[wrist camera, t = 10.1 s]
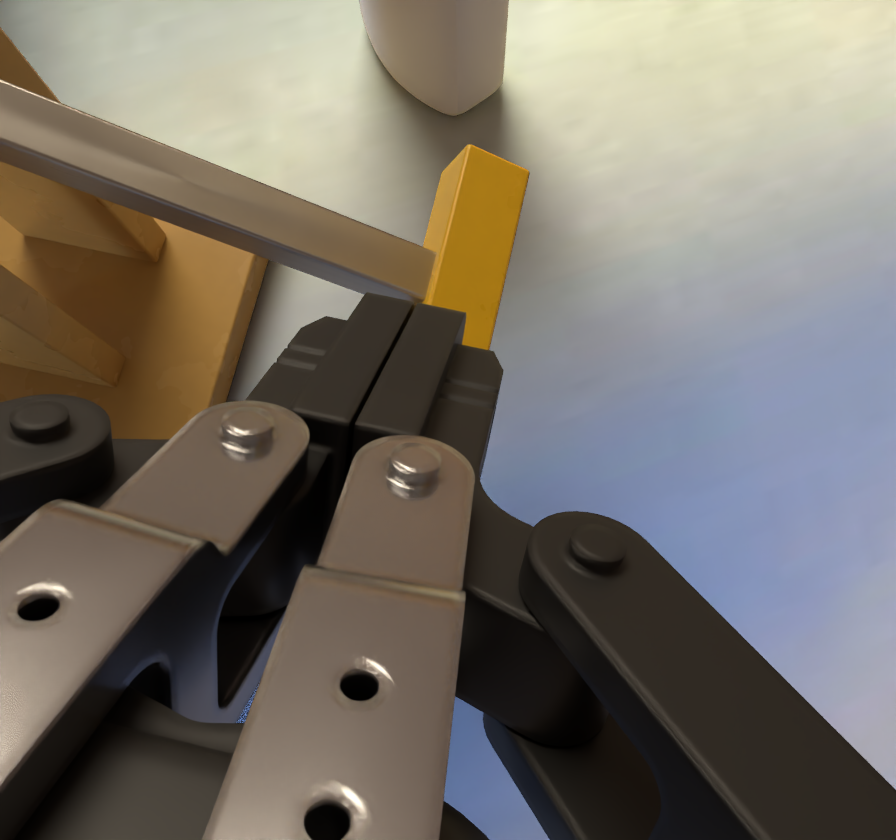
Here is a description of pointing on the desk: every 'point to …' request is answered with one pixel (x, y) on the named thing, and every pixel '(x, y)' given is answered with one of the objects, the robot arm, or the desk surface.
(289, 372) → the robot arm
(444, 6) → the eye dropper bottle
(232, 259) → the wooden lever stand
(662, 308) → the desk surface
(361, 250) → the lever handle
